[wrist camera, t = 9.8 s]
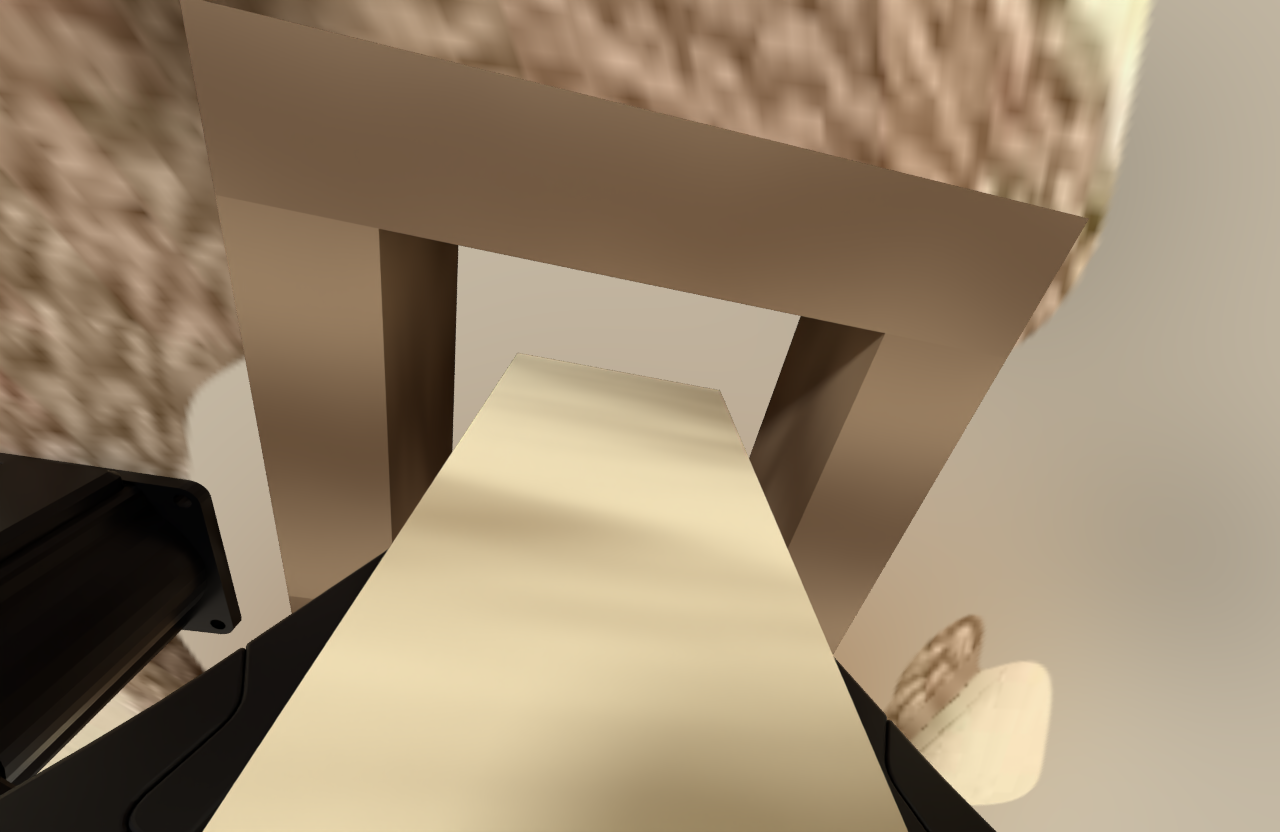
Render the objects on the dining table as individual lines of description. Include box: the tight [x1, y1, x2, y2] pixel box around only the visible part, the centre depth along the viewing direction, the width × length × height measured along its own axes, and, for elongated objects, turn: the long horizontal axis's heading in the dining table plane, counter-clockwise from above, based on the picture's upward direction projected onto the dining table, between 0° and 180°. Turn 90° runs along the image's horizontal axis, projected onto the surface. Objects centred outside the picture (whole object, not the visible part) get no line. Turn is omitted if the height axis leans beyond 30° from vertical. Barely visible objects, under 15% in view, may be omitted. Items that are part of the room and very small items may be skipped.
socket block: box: [180, 0, 1088, 654], centre depth 12 cm, size 14×14×4 cm
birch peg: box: [203, 353, 908, 832], centre depth 7 cm, size 4×4×10 cm
